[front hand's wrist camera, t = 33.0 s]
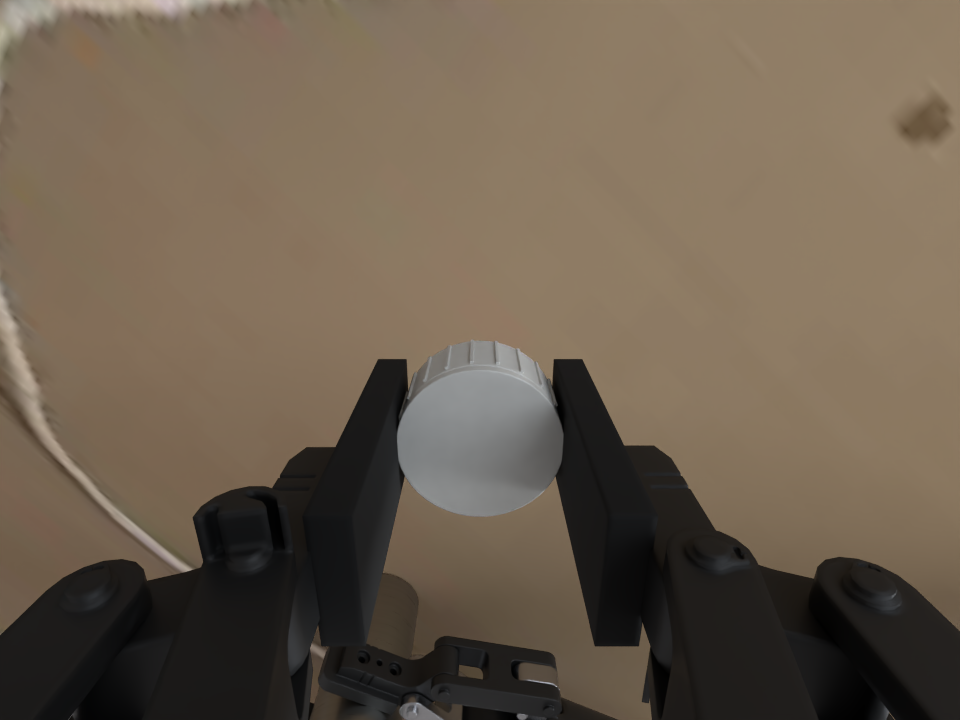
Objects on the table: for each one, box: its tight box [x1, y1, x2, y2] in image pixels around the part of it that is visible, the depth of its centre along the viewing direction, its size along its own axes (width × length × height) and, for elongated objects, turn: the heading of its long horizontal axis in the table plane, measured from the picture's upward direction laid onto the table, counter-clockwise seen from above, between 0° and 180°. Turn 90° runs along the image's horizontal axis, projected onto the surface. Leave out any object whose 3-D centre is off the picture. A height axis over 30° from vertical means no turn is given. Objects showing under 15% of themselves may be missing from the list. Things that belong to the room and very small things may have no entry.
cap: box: [397, 340, 564, 517], centre depth 14 cm, size 4×4×2 cm
